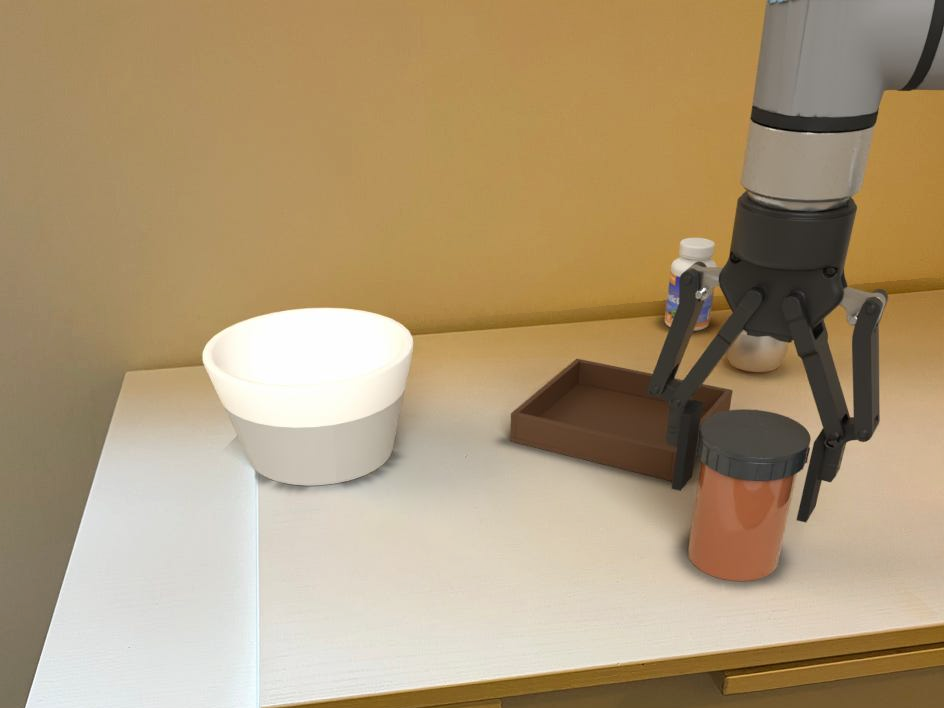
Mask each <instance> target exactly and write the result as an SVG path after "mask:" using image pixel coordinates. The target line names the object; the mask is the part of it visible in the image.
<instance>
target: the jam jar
mask: <svg viewBox="0 0 944 708" xmlns="http://www.w3.org/2000/svg"><path fill="white" fill-rule="evenodd" d="M797 476H798V473H796V474H795V475H793V476H790V477H788V478H784V479H779V480H772V481H751V480H742V479H737V478H733V477H729V476H726V475H723V474H721V473H718V472H716V471H714V470H712V469H710V468H709V467H707V466H706V465H705V464H704V463H703V462H702V461H701V460H700V467H699V474H698V479H697V488H696V494H695V502H694V508H693V514H692V521H691V528H690V534H689V541H688V542H689V543H688V549H687V554H688V555H687V556H688V558H689V560H690V562H691V563H692V564H693V565H694V566H695V567H696V568H697V569H698V570H700V571H702V573H705V574H707V575H709V576H711V577H715V578H717V579H721V580H726V581H734V582H746V581H747V582H748V581H755V580H760V579H762V578H765V577H767V576H769V575H770V574H772V573H773V572H774V571H775V570H776V568H777V567H778V564H779V559H780V555H781V550H782V546H783V541H784V536H785V532H786V528H787V522H788V518H789V513H790V508H791V504H792V499H793V495H794V490H795V486H796V481H797Z"/></svg>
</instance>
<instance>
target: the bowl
mask: <svg viewBox="0 0 944 708" xmlns="http://www.w3.org/2000/svg"><path fill="white" fill-rule="evenodd" d="M414 343H415V341H414V338H413V336H412V334H411V331H410V330H409V329H408V328H407V327H405V326H404V325H403V324H402V323H400V322H398V321H397V320H395V319H393V318H392V317H388V316H386V315H382V314H380V313H377V312H376V313H375V312H371V311H366V310H361V309H352V308H342V307H307V308H306V307H305V308H295V309H287V310H282V311H275V312H270V313H265V314H262V315H258V316H254V317H251V318H247V319H245V320H242V321H239V322H236V323H235V324H232V325H230V326H228V327H226V328H224V329H222V330H221V331H219V332H218V333H216V334H215V335H213V336H212V337H211V339H210V340H208V341H207V343H206V344H205V347H204V349H203V350H202V364H203V366H204V368H205V370H206V372H207V375H208V376H209V377H208V378H210V381H211V383H212V385H213V387H214V389H215V392H216V394H217V396H218V398H219V400H220V402H221V404H222V406H223V408H224V411H225V413H226V414H227V417H228V419H229V421H230V423H231V426H232V428H233V429H234V432H235V434H236V436H237V438H238V440H239V443H240V444H241V446H242V449H243V451H244V453H245V455H246V458H247V460H248V462H249V464H250V465H251V467H252V468H253V469H254V471H256V472H257V473H258V474H259V475H261V476H263V477H265V478H267V479H269V480H273V481H275V482H278V483H283V484H289V485H294V486H297V485H298V486H327V485H334V484H335V485H336V484H339V483H344V482H349V481H352V480H355V479H359V478H362V477H364V476H366V475H368V474H371V473H372V472H375V471H376V470H377V469H379V468H380V467H382V466H383V465H384V464H385V463H386V462H387V461H388V460H389V459H390V457H391V455H392V453H393V450H394V446H395V440H396V435H397V431H398V425H399V422H400V421H399V420H400V416H401V411H402V405H403V400H404V396H405V392H406V388H407V383H408V378H409V373H410V368H411V363H412V358H413V353H414V347H415V345H414Z"/></svg>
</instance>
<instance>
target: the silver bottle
mask: <svg viewBox="0 0 944 708" xmlns="http://www.w3.org/2000/svg"><path fill="white" fill-rule="evenodd" d="M788 350H789V343H788V342H783V341H779V340H777V339H774V338H772V337H770V336H762V337H755V336H750V335H747V332H746V331H745V330H743V332H742V333H741V334H740V335H739V337H738V338H737V339H736V341H735V342H734V343H733V345H732V346H731V347H730V348H729V350H728V351H727V352H726V354H725V356H726V358H727V360H728V362H729V364H730V365H731V366H733V368H736V369H738V370H742V371H746V372H751V373H752V372H753V373H765V372H766V373H767V372H771V371H774V370H777V368H779V367H780V366H781V365H782V364H783V363H784V361H785V358H786V356H787V353H788Z"/></svg>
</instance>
